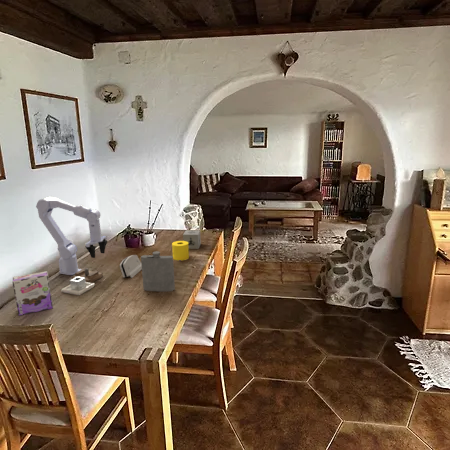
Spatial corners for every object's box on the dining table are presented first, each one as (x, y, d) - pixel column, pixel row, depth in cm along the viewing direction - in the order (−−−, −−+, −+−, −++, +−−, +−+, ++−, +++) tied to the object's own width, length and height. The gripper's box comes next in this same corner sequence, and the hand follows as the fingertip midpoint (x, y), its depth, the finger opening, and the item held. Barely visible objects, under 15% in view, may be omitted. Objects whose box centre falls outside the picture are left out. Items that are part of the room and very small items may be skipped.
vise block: (70, 280, 189) (69, 270, 188) (83, 273, 198) (82, 264, 197) (89, 283, 184) (88, 274, 183) (102, 276, 193) (101, 267, 192)
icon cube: (186, 244, 246) (185, 230, 243) (200, 244, 245) (200, 230, 242) (183, 248, 236) (182, 234, 233) (198, 248, 235) (197, 234, 232)
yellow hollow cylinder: (187, 260, 215) (187, 245, 212) (171, 260, 215) (170, 245, 213) (189, 254, 225) (189, 240, 222) (174, 254, 225) (173, 240, 222)
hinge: (131, 278, 191) (124, 261, 189) (124, 280, 192) (117, 263, 190) (144, 266, 206) (138, 251, 204) (137, 268, 208) (131, 253, 206)
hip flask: (175, 288, 178) (173, 251, 172) (173, 292, 174) (171, 253, 168) (144, 287, 179) (141, 250, 174) (142, 291, 175) (139, 253, 170)
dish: (61, 292, 175) (61, 289, 175) (78, 283, 185) (77, 280, 185) (79, 295, 172) (78, 292, 171) (94, 286, 182) (94, 283, 181)
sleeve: (71, 289, 177) (69, 280, 176) (78, 285, 181) (77, 276, 180) (79, 290, 175) (77, 281, 174) (86, 286, 180) (85, 277, 178)
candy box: (18, 316, 153) (11, 281, 149) (18, 310, 158) (12, 276, 154) (53, 308, 159) (47, 274, 155) (52, 303, 164) (47, 270, 160)
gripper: (91, 236, 186) (94, 260, 189) (109, 229, 199) (112, 251, 202) (81, 235, 188) (84, 259, 192) (99, 228, 201) (102, 250, 205)
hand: (98, 255), depth 197 cm, fingers open, 7 cm apart
